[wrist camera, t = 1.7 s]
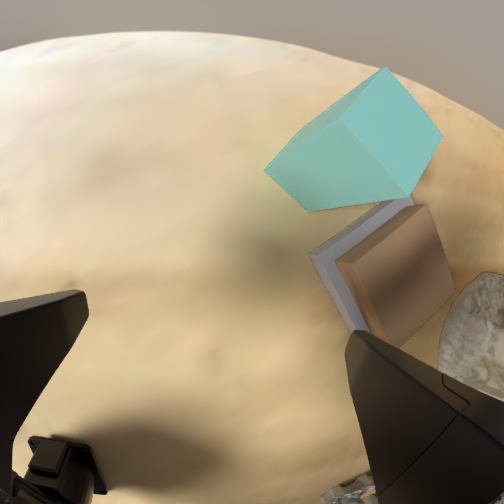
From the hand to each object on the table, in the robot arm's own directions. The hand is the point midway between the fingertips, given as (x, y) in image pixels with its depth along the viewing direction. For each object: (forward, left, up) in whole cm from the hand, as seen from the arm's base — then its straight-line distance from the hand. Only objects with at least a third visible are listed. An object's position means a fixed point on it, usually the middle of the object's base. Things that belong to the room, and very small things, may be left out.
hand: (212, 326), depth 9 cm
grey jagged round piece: (-10, -32, -12) cm, 36 cm away
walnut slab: (0, -15, -10) cm, 18 cm away
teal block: (+8, -8, -12) cm, 16 cm away
